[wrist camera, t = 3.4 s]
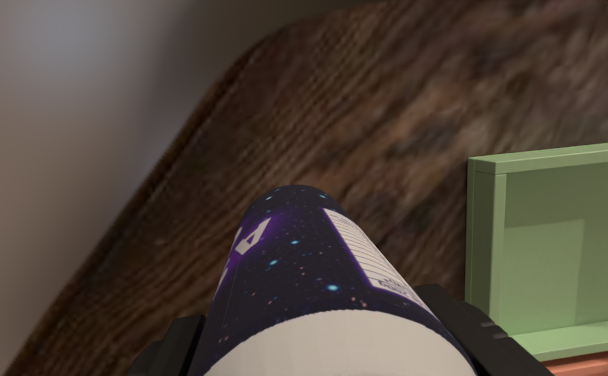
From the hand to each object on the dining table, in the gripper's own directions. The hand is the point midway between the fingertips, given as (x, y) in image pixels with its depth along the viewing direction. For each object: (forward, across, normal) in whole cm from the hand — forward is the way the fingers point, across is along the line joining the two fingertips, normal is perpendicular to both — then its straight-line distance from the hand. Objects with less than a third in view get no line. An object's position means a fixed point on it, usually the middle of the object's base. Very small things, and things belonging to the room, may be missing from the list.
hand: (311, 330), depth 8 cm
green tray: (+8, -15, +2) cm, 17 cm away
